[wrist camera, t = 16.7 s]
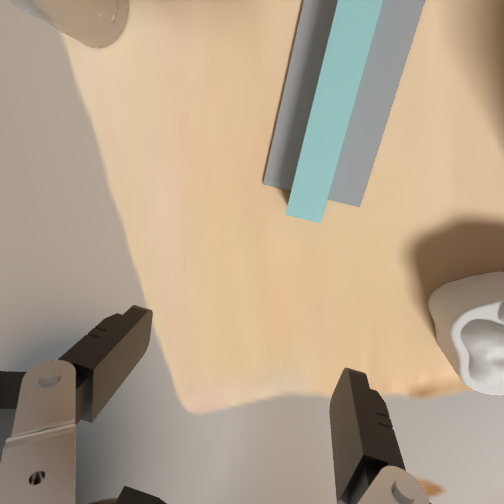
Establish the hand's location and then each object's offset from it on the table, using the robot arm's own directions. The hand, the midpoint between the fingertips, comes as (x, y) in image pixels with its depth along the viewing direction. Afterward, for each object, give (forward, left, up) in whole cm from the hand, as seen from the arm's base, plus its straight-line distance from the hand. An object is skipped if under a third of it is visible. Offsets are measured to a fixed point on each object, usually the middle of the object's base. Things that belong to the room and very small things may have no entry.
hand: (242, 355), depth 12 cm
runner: (-2, +20, -28) cm, 35 cm away
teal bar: (-2, +17, -28) cm, 32 cm away
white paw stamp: (+24, -1, -28) cm, 37 cm away
